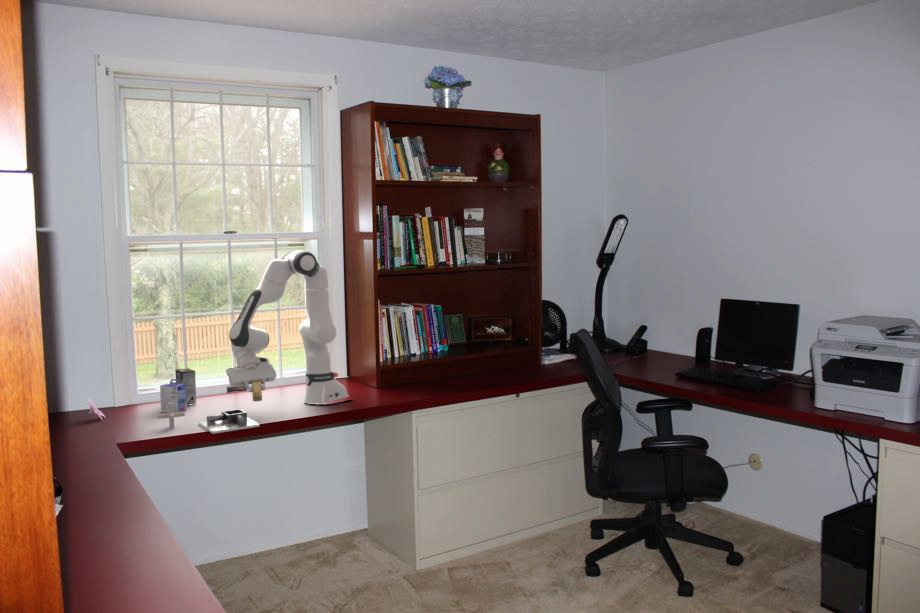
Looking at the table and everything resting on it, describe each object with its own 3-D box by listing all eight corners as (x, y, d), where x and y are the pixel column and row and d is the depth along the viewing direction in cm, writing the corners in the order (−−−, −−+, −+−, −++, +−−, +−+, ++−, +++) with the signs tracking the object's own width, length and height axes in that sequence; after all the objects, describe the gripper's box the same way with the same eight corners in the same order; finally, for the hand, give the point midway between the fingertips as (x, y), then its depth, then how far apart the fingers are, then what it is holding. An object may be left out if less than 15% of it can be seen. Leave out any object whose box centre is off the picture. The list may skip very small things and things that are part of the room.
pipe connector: (184, 423, 307) (183, 399, 306) (185, 428, 298) (184, 404, 297) (158, 425, 303) (157, 401, 302) (158, 431, 294) (157, 406, 293)
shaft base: (243, 417, 315) (243, 407, 315) (259, 426, 300) (259, 415, 300) (198, 424, 304) (198, 413, 304) (212, 433, 289) (211, 422, 289)
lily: (91, 427, 306) (103, 406, 308) (67, 415, 308) (79, 394, 310) (106, 429, 318) (117, 408, 320) (82, 418, 319) (93, 397, 321)
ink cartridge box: (187, 411, 330) (185, 379, 328) (178, 413, 324) (177, 381, 323) (169, 409, 333) (167, 378, 332) (160, 412, 328) (158, 380, 326)
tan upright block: (260, 398, 322) (259, 380, 321) (263, 400, 319) (262, 382, 318) (251, 400, 320) (250, 382, 319) (254, 401, 317) (253, 383, 316)
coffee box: (176, 403, 346) (174, 369, 345) (190, 401, 350) (188, 367, 349) (182, 406, 339) (181, 372, 337) (196, 404, 343) (195, 370, 341)
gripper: (226, 363, 318) (234, 389, 310) (271, 358, 329) (281, 382, 322) (223, 372, 322) (232, 398, 315) (268, 366, 333) (278, 391, 326)
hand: (257, 390), depth 318 cm, fingers closed on tan upright block, 4 cm apart
